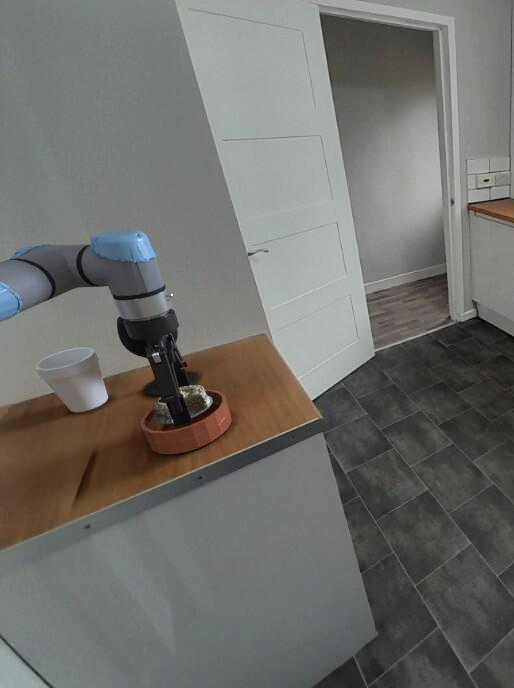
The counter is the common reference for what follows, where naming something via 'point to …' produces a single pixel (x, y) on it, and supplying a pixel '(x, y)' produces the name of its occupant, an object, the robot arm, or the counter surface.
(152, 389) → the wine glass
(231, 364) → the counter surface
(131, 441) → the counter surface
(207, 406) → the cake
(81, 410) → the foam cup
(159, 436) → the bowl
